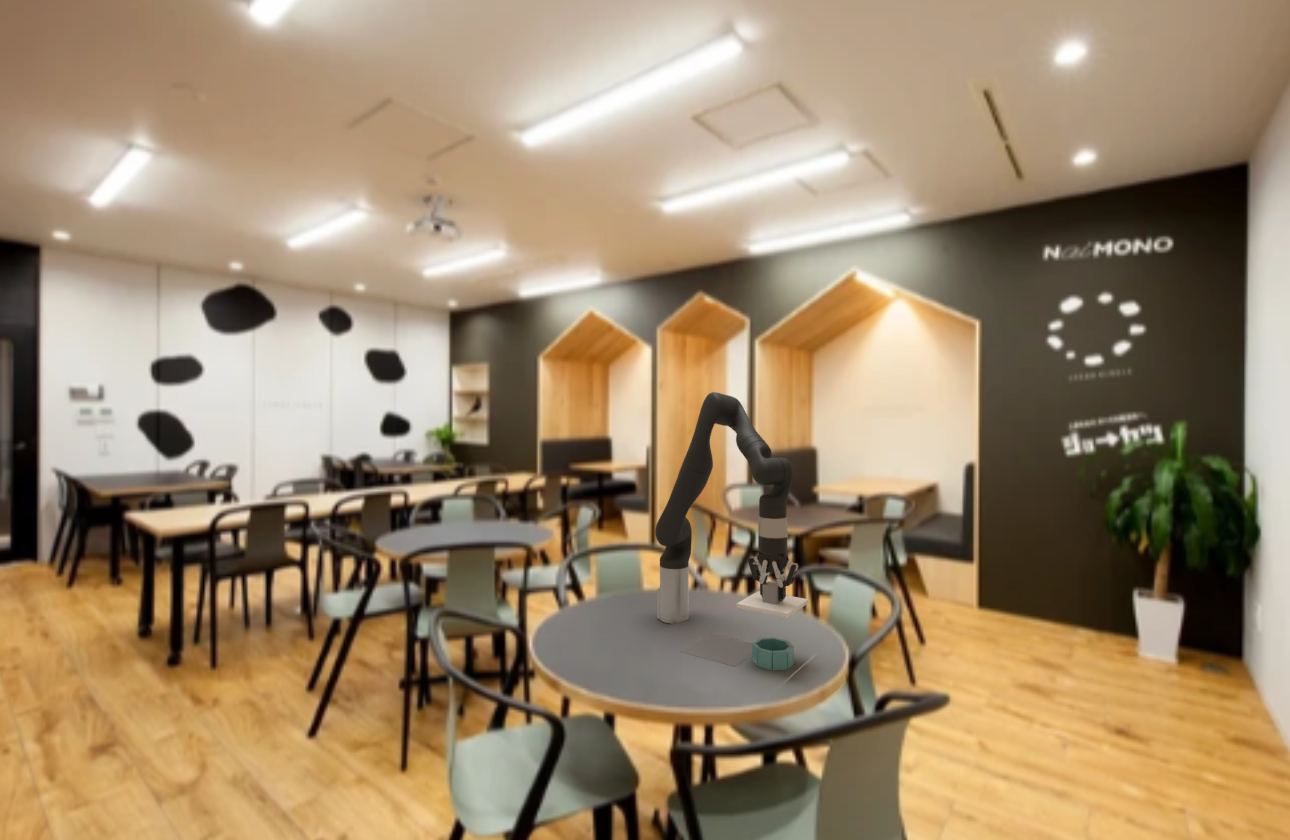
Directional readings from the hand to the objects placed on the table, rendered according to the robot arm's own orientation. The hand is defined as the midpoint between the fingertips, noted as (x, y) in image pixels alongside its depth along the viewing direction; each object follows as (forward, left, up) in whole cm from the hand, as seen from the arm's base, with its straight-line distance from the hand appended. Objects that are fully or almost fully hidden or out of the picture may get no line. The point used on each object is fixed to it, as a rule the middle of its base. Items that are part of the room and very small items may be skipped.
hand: (772, 598), depth 160 cm
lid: (0, 0, -2) cm, 2 cm away
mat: (-15, 0, -17) cm, 23 cm away
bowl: (0, 0, -17) cm, 17 cm away
